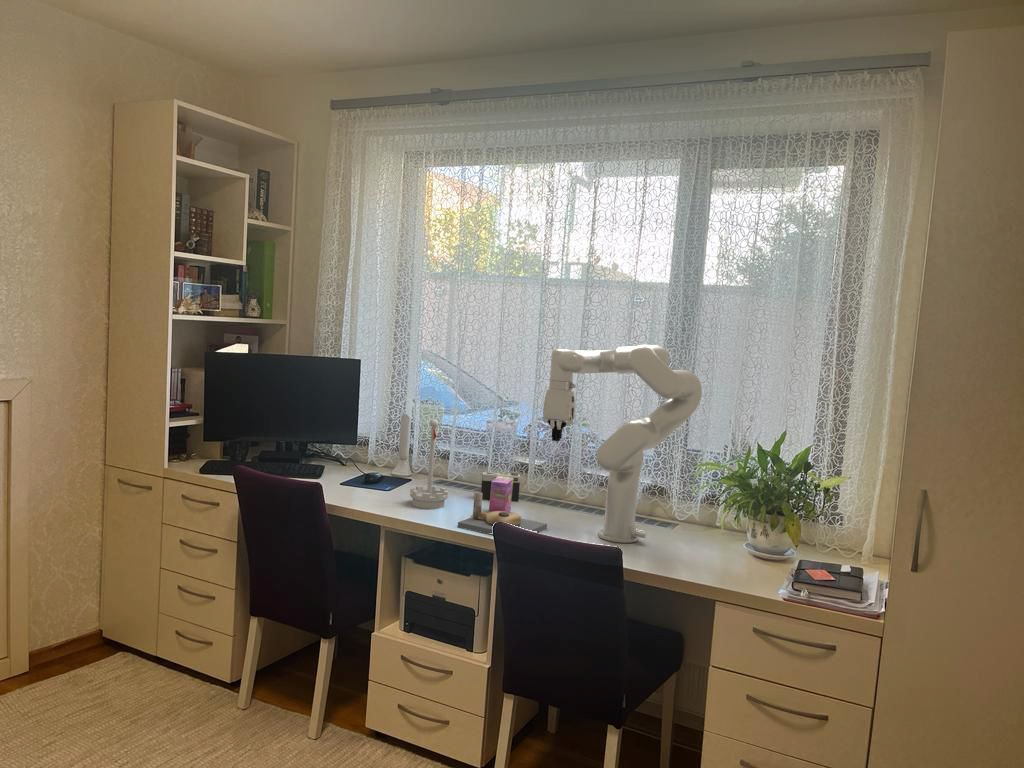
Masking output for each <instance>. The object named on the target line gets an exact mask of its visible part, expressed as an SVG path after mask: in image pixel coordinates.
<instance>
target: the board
mask: <svg viewBox="0 0 1024 768" xmlns="http://www.w3.org/2000/svg"><path fill="white" fill-rule="evenodd" d="M484 512H485V513H488V512H489V510H487V511H484ZM520 516H521V523H520V524H519V525H517V526H518V527H521V528H524V529H528V530H532V531H537V532H538V533H540V532H542V531H544V530H547V529H548V523H547V522H546V523H545V522H541V521H537V520H531V519H528V518H527V519H526V518H523V515H520ZM492 526H493V524H490V523H488V522H486V520H484V519H476V518H473V514H472V515H470V517H469V518H466V519H463V520H460V521H458V522H457V528H460V527H461V528H460V529H464V528H466V529H465V530H469V529H471V530H470V531H473V530H477V531H476V532H478V531H481V532H480V533H482V532H485V533H484V534H487V533H492Z"/></svg>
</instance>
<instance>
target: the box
mask: <svg viewBox="0 0 1024 768" xmlns="http://www.w3.org/2000/svg"><path fill="white" fill-rule="evenodd" d="M512 487H513V478H511V477H503V476H497V477H496V478H495V479H494V480H493V481H492V482H491V492H490V500H489V506H488V511H489V512H493V511H506V512H511V508H512V501H511V498H512Z"/></svg>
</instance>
